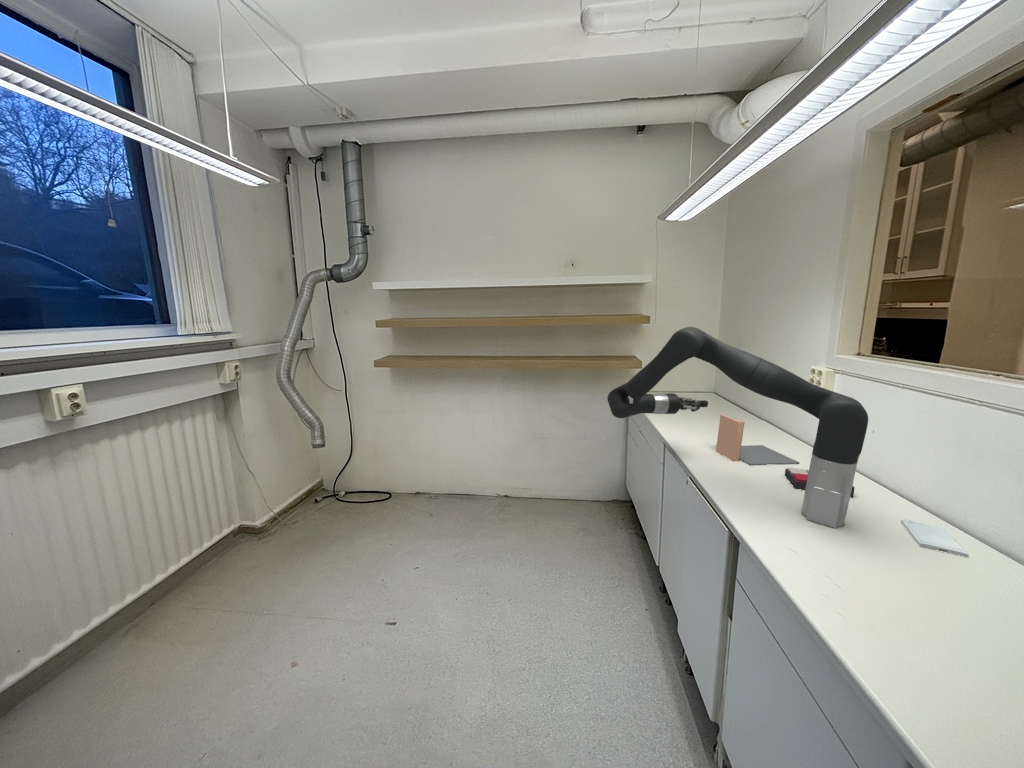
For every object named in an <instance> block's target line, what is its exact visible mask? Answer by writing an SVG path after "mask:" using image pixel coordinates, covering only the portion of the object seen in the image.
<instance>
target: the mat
mask: <svg viewBox="0 0 1024 768" xmlns="http://www.w3.org/2000/svg"><path fill="white" fill-rule="evenodd" d="M739 459H740V460H739V461H741V460H742V461H741V462H743V463H744V462H745V464H746V463H747V465H748V464H749V465H748V466H768V465H767V464H777V465H796V464H795V463H799V464H800V462H799V461H798V460H795V459H793V458H791V457H789V456H787V455H785V454H782V453H780V452H778V451H775V450H774V449H772V448H770V447H767V446H765V445H763V444H761V445H760V444H759V445H758V444H757V445H754V444H753V445H752V444H751V445H741V450H740V457H739Z"/></svg>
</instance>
